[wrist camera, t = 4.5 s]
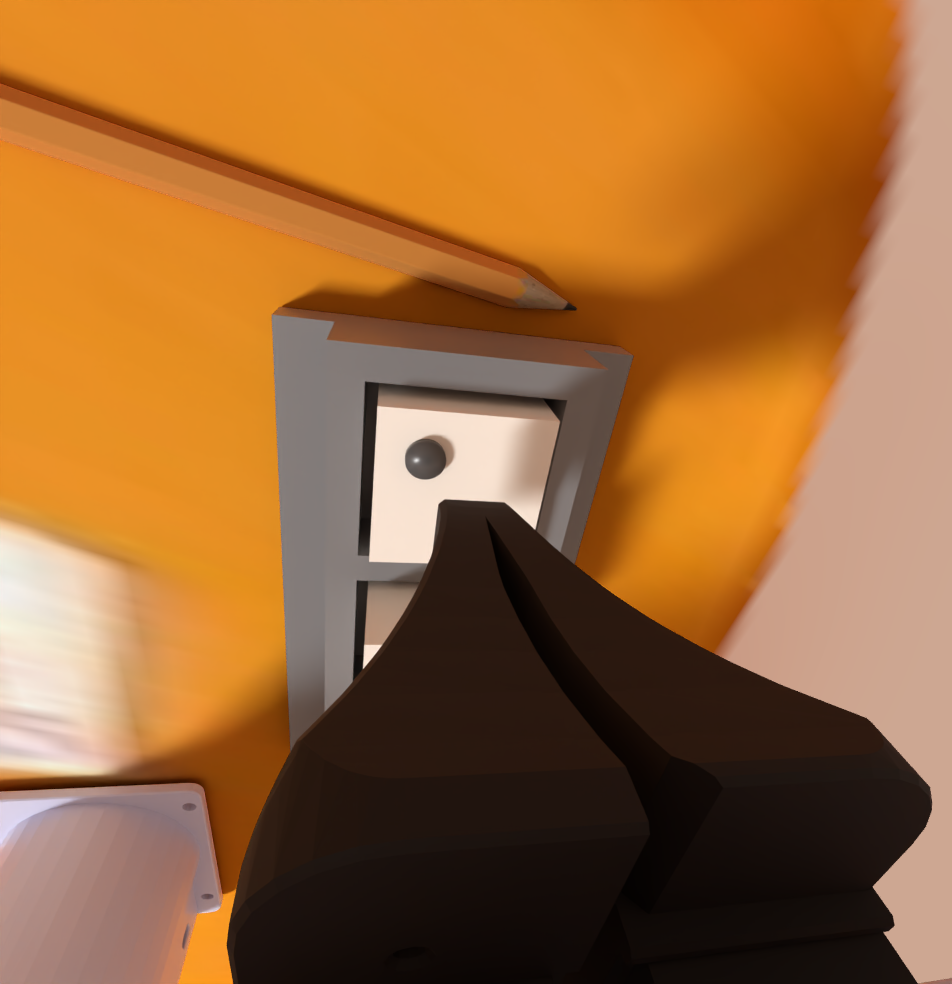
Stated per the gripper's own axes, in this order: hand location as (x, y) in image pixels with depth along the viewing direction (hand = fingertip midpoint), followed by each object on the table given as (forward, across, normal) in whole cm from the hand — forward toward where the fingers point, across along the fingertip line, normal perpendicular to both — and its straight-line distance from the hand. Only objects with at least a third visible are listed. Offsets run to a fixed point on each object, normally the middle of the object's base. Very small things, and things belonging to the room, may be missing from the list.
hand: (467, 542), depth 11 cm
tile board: (+5, 0, +5) cm, 7 cm away
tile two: (+4, 0, 0) cm, 4 cm away
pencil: (+6, +6, -6) cm, 10 cm away
